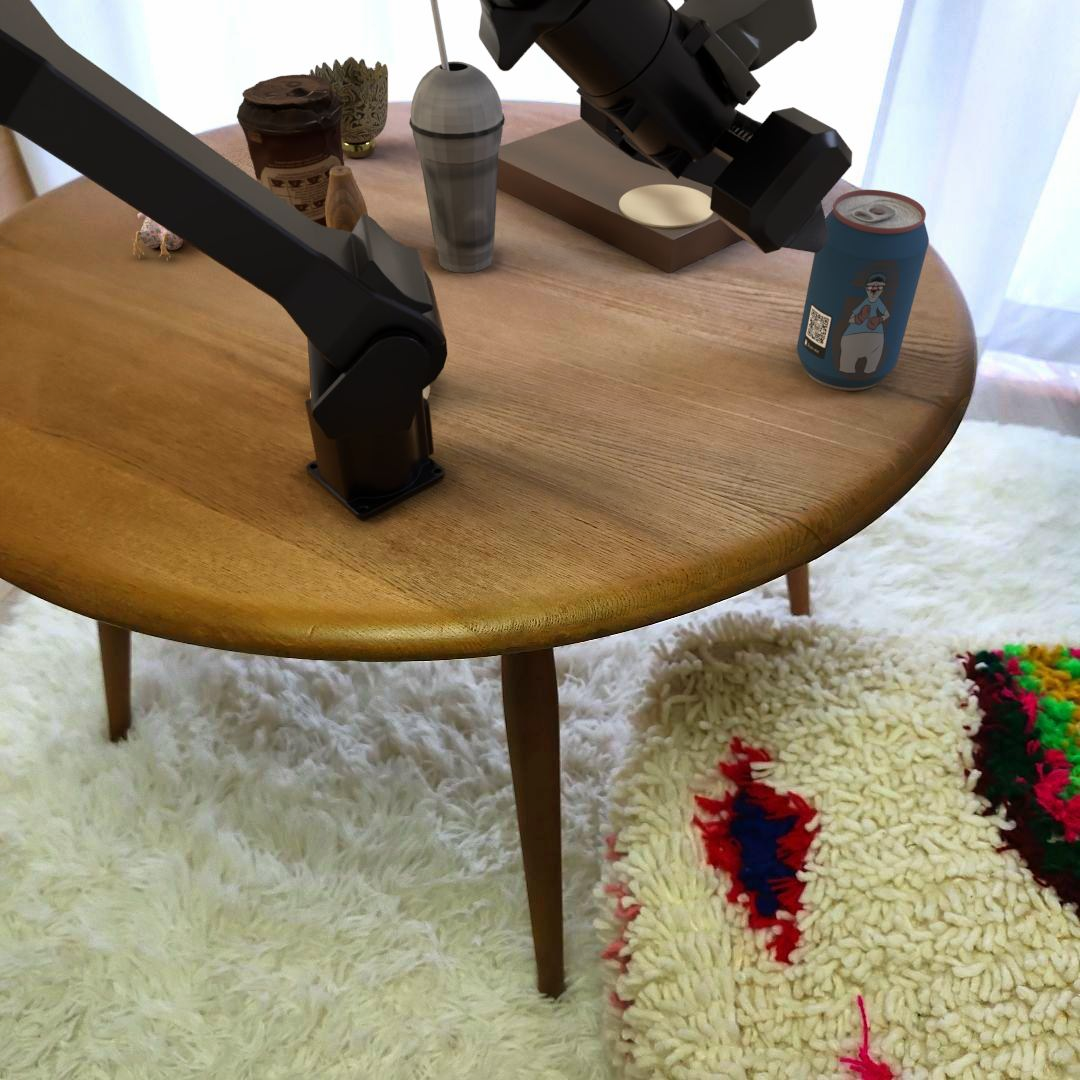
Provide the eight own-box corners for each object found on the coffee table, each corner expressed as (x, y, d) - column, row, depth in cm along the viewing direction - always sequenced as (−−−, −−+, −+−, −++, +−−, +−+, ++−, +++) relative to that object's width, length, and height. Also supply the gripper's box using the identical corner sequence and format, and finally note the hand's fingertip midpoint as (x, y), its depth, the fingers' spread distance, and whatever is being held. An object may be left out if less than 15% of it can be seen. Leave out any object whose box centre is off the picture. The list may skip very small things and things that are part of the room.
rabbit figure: (192, 276, 87) (254, 176, 96) (170, 215, 82) (236, 116, 91) (124, 270, 88) (191, 172, 97) (97, 209, 83) (171, 112, 92)
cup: (411, 148, 103) (403, 64, 98) (364, 173, 99) (353, 88, 94) (354, 133, 106) (343, 52, 101) (306, 157, 102) (292, 73, 96)
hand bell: (454, 393, 71) (438, 168, 61) (357, 443, 67) (320, 210, 56) (382, 347, 76) (355, 129, 65) (287, 391, 72) (241, 166, 61)
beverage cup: (498, 284, 83) (487, 16, 69) (411, 276, 84) (384, 10, 70) (517, 243, 88) (511, -14, 74) (435, 236, 89) (414, -18, 76)
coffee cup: (373, 257, 86) (353, 98, 77) (275, 275, 84) (242, 114, 75) (348, 215, 92) (327, 63, 83) (255, 231, 90) (224, 76, 81)
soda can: (847, 333, 77) (882, 177, 69) (914, 378, 72) (960, 217, 64) (773, 358, 74) (801, 199, 66) (838, 406, 70) (876, 242, 62)
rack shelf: (669, 273, 84) (675, 203, 80) (485, 182, 97) (482, 118, 93) (807, 209, 93) (819, 143, 88) (621, 134, 106) (624, 73, 102)
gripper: (861, -58, 42) (986, 157, 53) (634, -134, 55) (774, 54, 66) (681, 164, 45) (836, 326, 56) (505, 45, 58) (660, 196, 69)
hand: (774, 213), depth 62 cm, fingers open, 9 cm apart
